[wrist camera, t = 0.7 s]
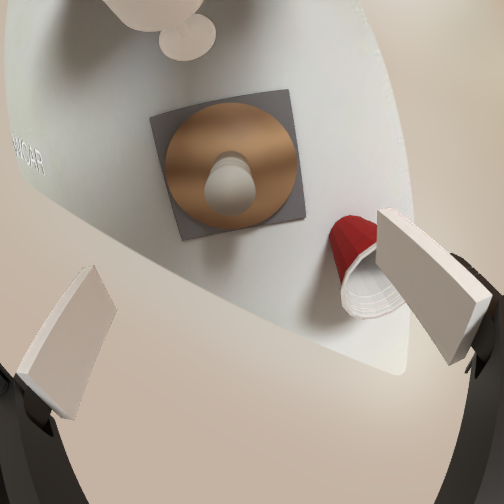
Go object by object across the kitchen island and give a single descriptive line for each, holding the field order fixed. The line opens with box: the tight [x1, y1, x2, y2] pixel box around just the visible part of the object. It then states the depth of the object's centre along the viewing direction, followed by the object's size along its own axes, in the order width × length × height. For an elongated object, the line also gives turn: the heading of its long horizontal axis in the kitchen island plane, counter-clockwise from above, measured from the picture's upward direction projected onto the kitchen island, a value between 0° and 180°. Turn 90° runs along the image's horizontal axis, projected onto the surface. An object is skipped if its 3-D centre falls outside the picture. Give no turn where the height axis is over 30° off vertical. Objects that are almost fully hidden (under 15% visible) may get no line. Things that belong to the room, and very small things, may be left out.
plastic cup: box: [330, 215, 406, 319], centre depth 32 cm, size 11×11×12 cm
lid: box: [165, 103, 297, 229], centre depth 26 cm, size 15×15×11 cm
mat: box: [150, 89, 306, 241], centre depth 31 cm, size 16×16×1 cm
